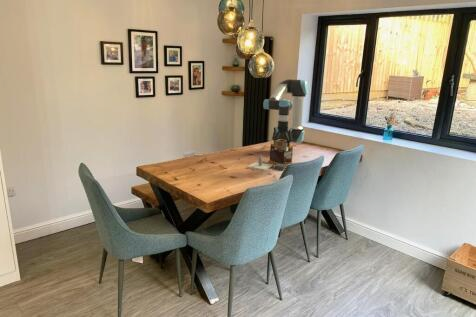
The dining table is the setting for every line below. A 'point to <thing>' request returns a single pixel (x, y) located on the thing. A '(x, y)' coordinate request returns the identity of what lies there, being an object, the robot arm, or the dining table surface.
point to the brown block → (280, 144)
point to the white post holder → (260, 165)
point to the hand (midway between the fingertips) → (281, 150)
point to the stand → (279, 166)
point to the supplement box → (281, 155)
